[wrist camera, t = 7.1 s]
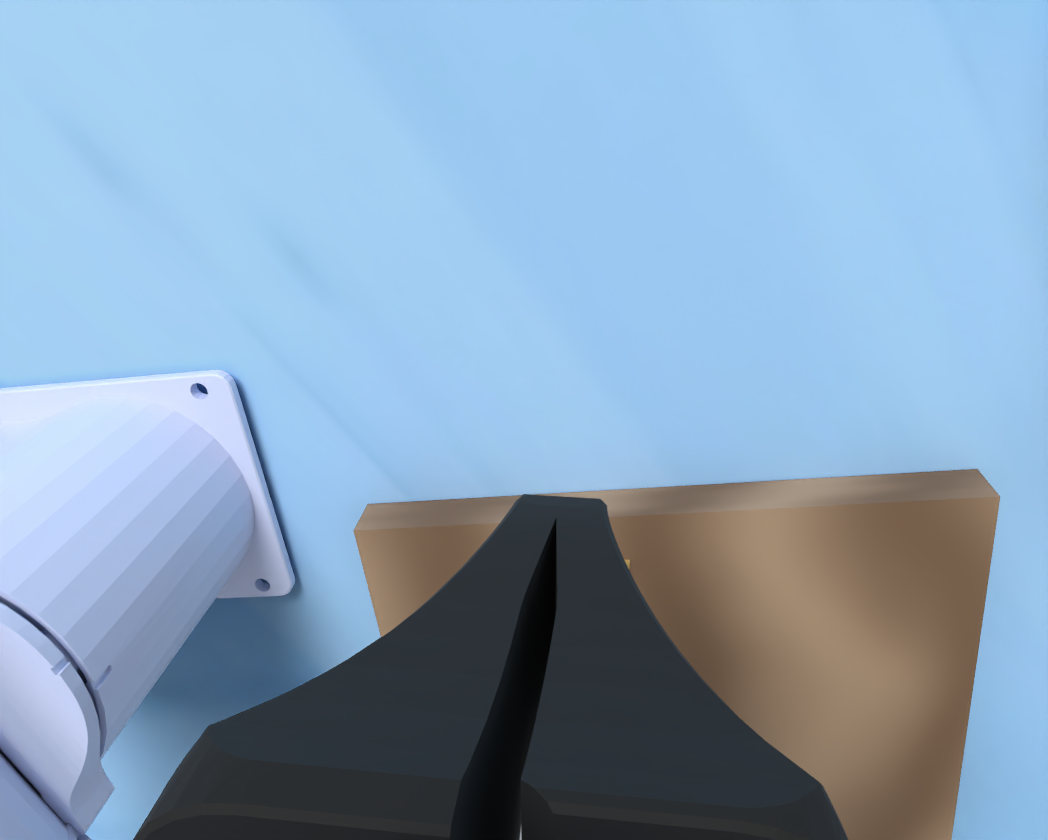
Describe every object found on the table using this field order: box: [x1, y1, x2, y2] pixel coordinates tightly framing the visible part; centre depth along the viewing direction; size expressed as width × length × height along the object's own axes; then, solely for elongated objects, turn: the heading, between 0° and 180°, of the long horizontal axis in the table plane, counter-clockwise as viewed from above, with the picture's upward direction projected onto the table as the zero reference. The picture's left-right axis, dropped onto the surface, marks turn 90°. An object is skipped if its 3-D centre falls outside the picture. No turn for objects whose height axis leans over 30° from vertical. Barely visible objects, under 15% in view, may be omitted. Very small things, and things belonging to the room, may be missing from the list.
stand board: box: [354, 469, 1000, 840], centre depth 27 cm, size 18×20×2 cm
